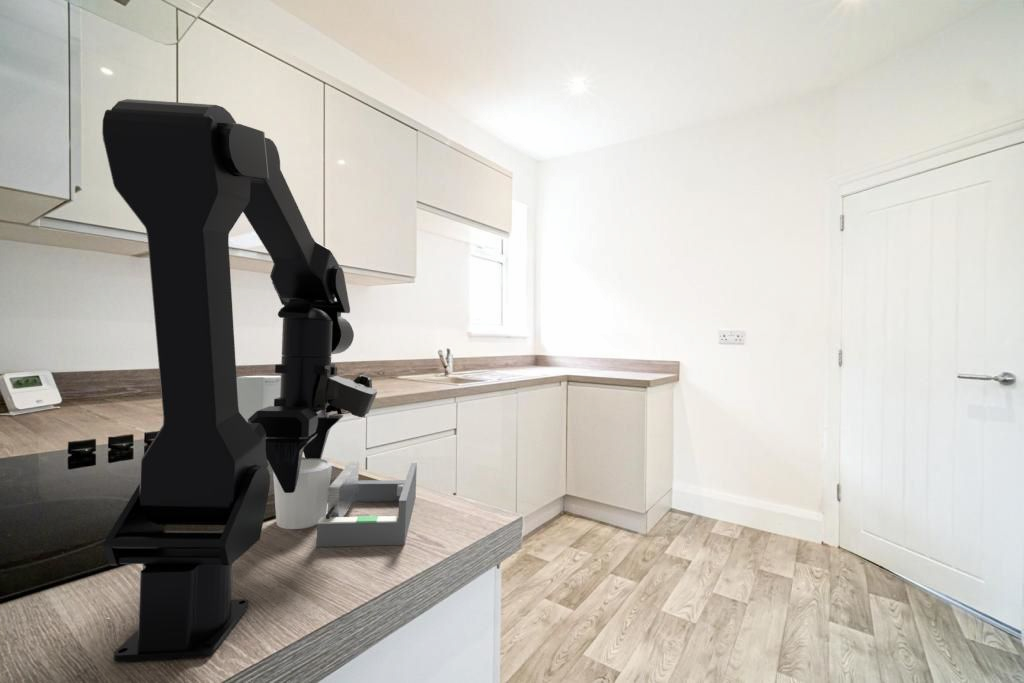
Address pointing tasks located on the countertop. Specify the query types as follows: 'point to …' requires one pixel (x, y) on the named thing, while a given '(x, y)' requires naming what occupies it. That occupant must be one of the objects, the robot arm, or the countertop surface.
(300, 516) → the white tapered cup
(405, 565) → the countertop surface
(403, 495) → the frame
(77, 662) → the countertop surface
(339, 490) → the flat metal bar
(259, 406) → the skincare box
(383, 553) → the countertop surface
